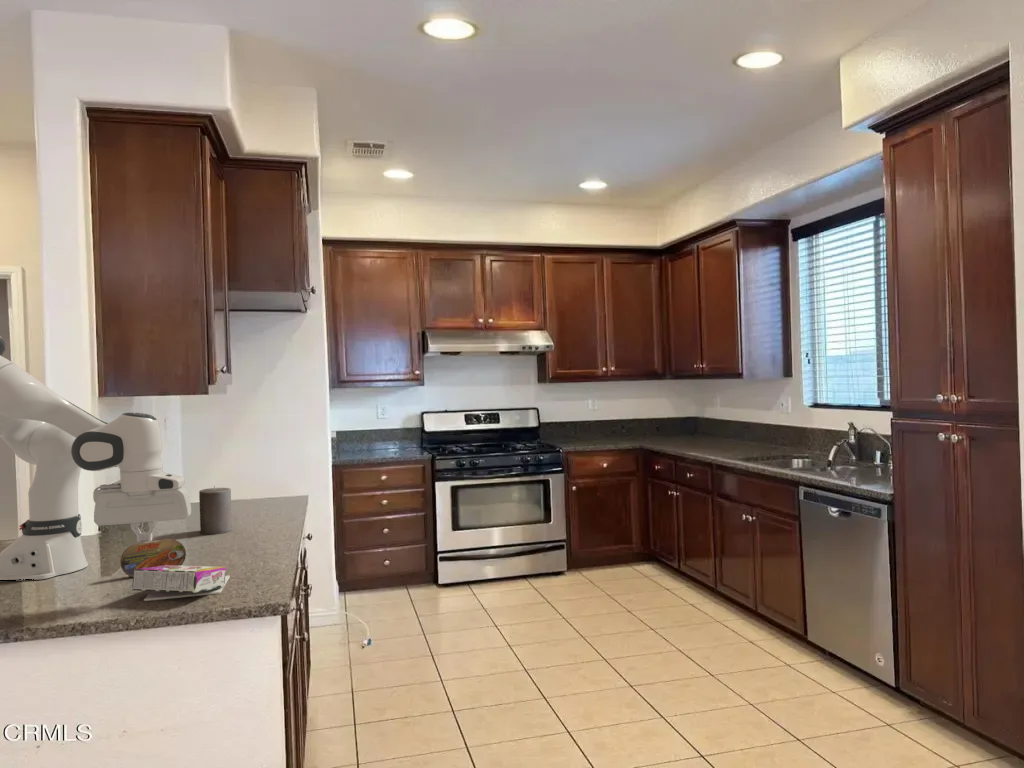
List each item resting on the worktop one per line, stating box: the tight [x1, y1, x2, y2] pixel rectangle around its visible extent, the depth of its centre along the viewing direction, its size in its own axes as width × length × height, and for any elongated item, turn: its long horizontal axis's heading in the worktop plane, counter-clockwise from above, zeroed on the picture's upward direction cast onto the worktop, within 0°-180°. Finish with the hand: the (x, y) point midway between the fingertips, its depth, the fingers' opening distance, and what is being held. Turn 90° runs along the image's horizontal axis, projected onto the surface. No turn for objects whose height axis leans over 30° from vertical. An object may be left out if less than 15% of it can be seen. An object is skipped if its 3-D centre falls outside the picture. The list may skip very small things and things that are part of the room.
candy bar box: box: [131, 565, 227, 593], centre depth 163 cm, size 11×5×16 cm
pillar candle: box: [198, 485, 233, 536], centre depth 232 cm, size 10×10×15 cm
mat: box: [143, 574, 231, 602], centre depth 168 cm, size 16×14×1 cm
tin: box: [120, 538, 187, 578], centre depth 182 cm, size 15×3×8 cm, turn 123°
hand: (144, 541), depth 165 cm, fingers closed
